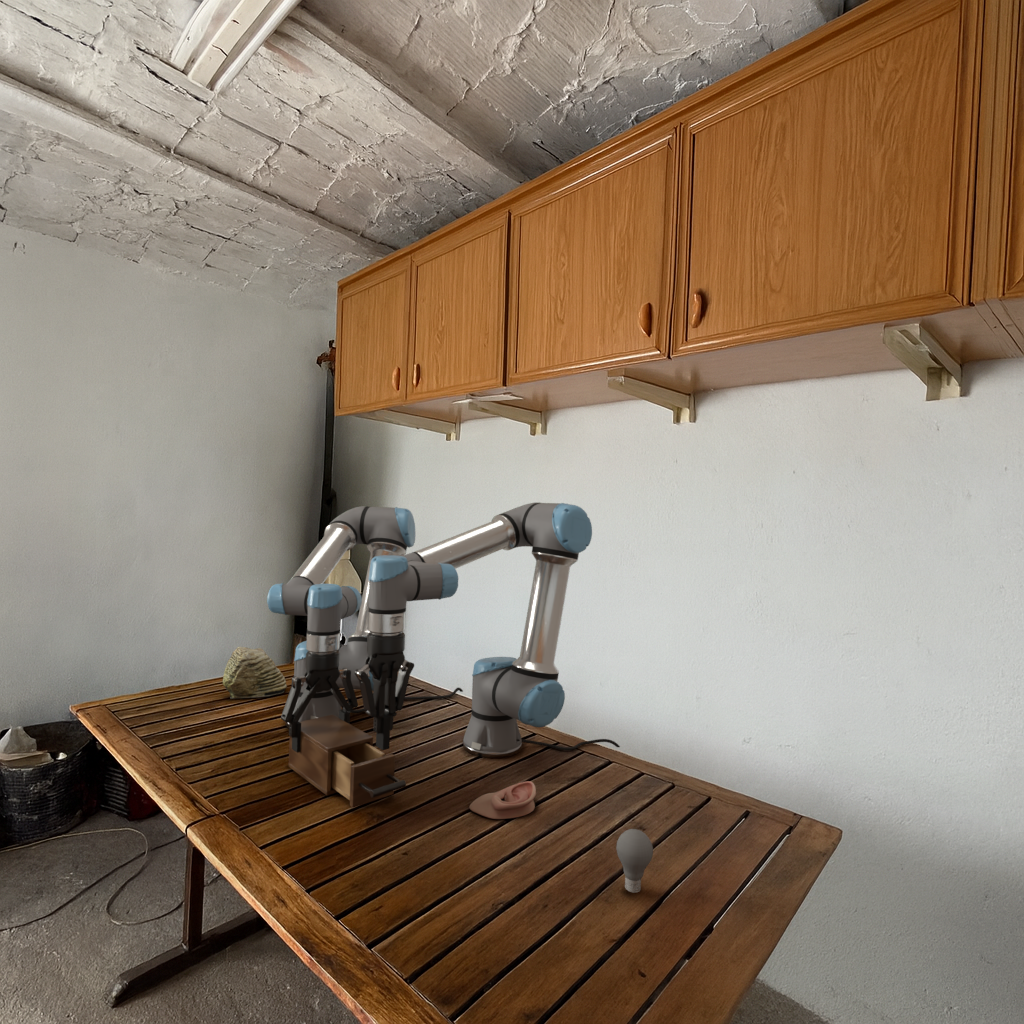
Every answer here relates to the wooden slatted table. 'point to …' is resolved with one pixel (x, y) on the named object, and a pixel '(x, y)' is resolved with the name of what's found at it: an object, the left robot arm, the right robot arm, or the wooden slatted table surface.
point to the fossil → (252, 674)
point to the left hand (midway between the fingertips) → (319, 744)
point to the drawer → (363, 774)
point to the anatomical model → (506, 802)
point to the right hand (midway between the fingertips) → (382, 747)
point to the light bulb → (634, 857)
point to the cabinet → (323, 748)
